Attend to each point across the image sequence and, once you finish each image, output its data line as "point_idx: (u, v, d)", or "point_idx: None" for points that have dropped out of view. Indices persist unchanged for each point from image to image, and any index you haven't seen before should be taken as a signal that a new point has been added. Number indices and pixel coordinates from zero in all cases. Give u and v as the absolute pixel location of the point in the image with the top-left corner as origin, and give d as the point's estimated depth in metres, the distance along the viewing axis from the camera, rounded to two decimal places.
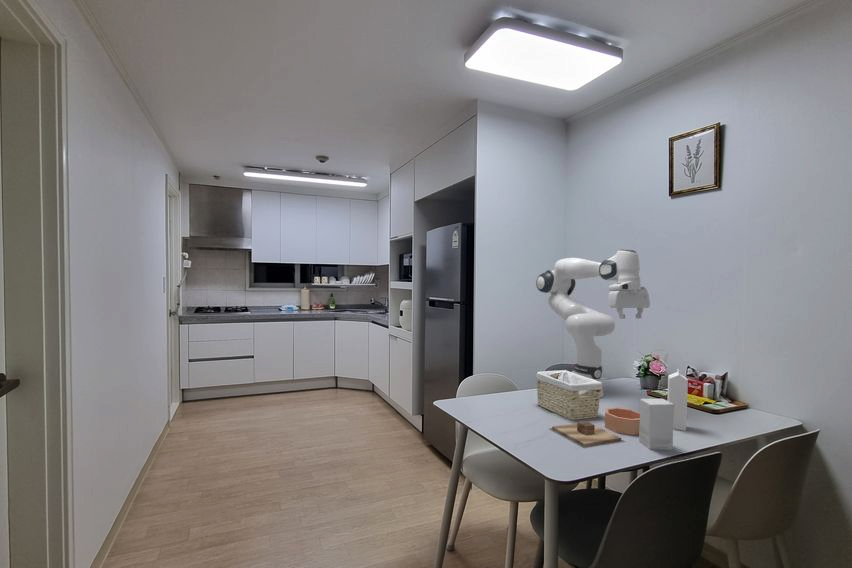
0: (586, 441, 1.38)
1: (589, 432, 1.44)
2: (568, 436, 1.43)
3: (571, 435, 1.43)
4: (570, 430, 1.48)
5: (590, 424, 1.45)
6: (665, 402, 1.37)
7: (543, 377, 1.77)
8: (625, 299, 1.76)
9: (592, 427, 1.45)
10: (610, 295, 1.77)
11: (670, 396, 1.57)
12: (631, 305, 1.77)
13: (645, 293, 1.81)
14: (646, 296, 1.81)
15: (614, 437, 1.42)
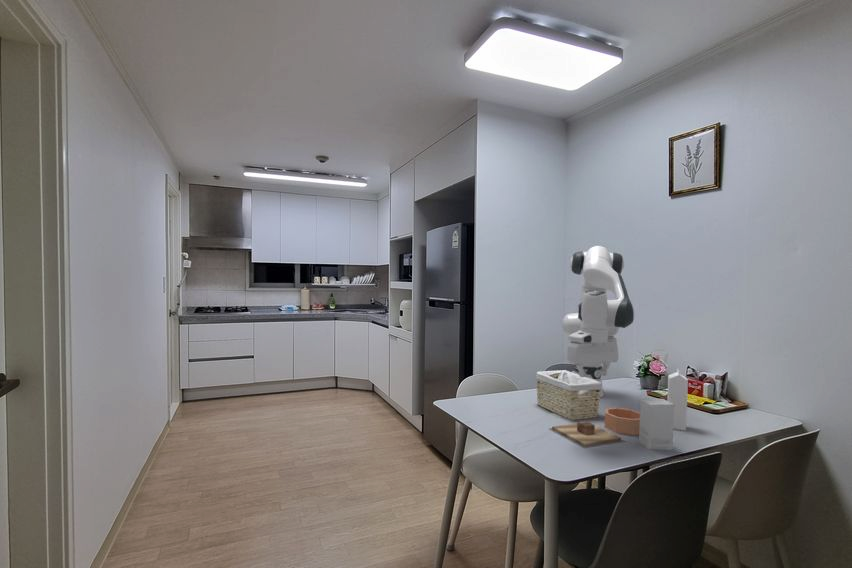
0: (586, 441, 1.38)
1: (589, 432, 1.44)
2: (568, 436, 1.43)
3: (571, 435, 1.43)
4: (570, 430, 1.48)
5: (590, 424, 1.45)
6: (665, 402, 1.37)
7: (543, 377, 1.77)
8: (587, 354, 1.43)
9: (592, 427, 1.45)
10: (569, 348, 1.43)
11: (670, 396, 1.57)
12: (595, 361, 1.44)
13: (614, 345, 1.47)
14: (615, 349, 1.47)
15: (614, 437, 1.42)
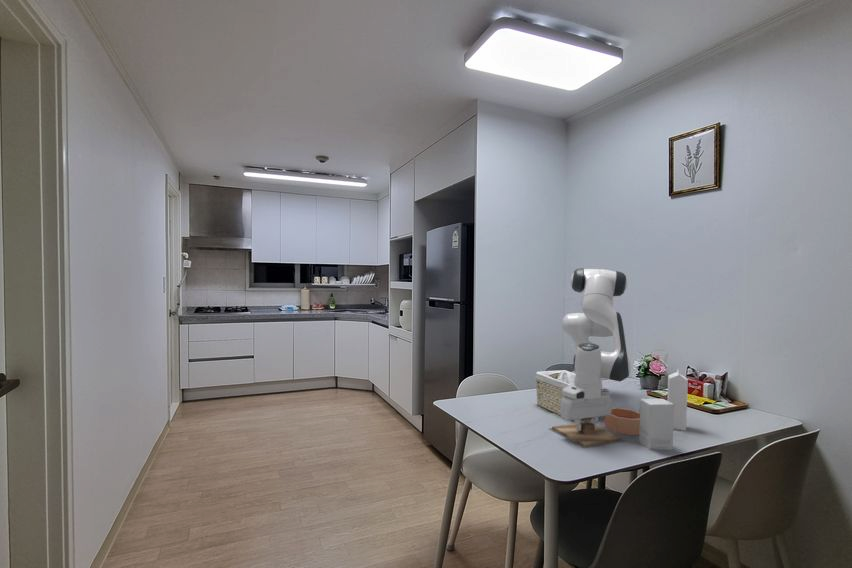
0: (586, 441, 1.38)
1: (589, 432, 1.44)
2: (568, 436, 1.43)
3: (571, 435, 1.43)
4: (570, 430, 1.48)
5: (590, 424, 1.45)
6: (665, 402, 1.37)
7: (542, 377, 1.77)
8: (580, 409, 1.43)
9: (592, 427, 1.45)
10: (562, 402, 1.44)
11: (670, 396, 1.57)
12: (587, 416, 1.44)
13: (607, 398, 1.47)
14: (608, 402, 1.47)
15: (614, 437, 1.42)
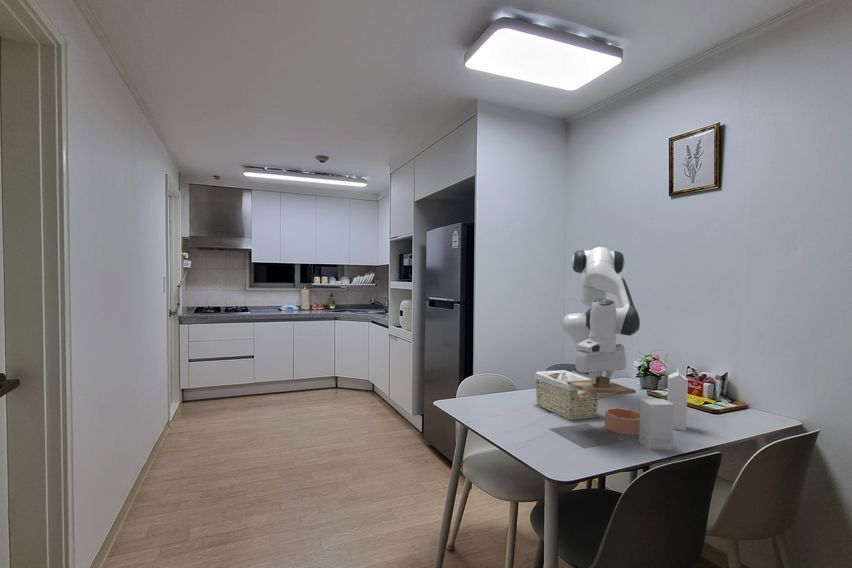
0: (601, 392, 1.41)
1: (604, 385, 1.48)
2: (583, 389, 1.46)
3: (586, 388, 1.46)
4: (585, 384, 1.51)
5: (605, 378, 1.49)
6: (665, 402, 1.37)
7: (542, 377, 1.77)
8: (595, 362, 1.46)
9: (607, 380, 1.48)
10: (577, 356, 1.47)
11: (670, 396, 1.57)
12: (602, 369, 1.47)
13: (622, 353, 1.50)
14: (622, 357, 1.50)
15: (629, 390, 1.45)
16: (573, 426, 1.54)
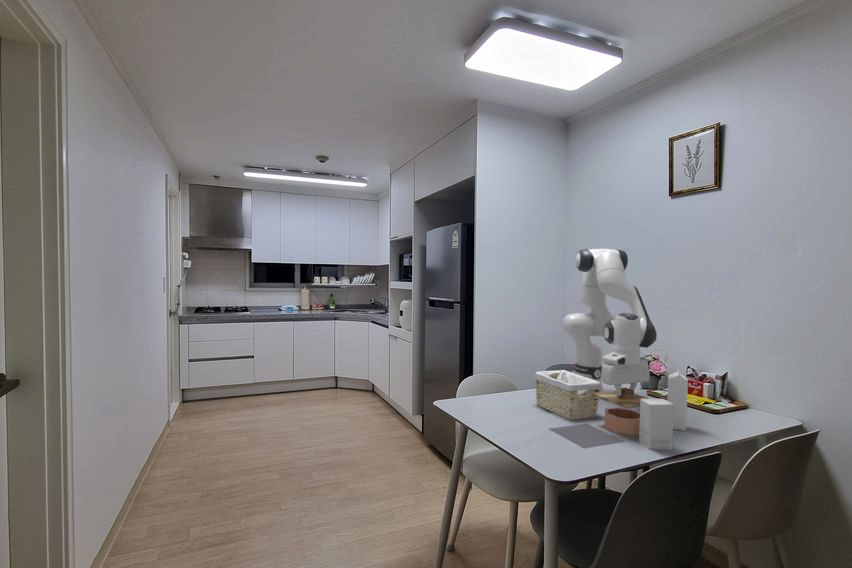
0: (628, 404, 1.45)
1: (629, 397, 1.52)
2: (609, 400, 1.51)
3: (612, 399, 1.50)
4: (610, 395, 1.56)
5: (630, 390, 1.53)
6: (665, 402, 1.37)
7: (542, 377, 1.77)
8: (621, 375, 1.51)
9: (632, 392, 1.53)
10: (603, 369, 1.51)
11: (670, 396, 1.57)
12: (627, 381, 1.52)
13: (645, 365, 1.55)
14: (646, 369, 1.55)
15: None
16: (573, 426, 1.54)
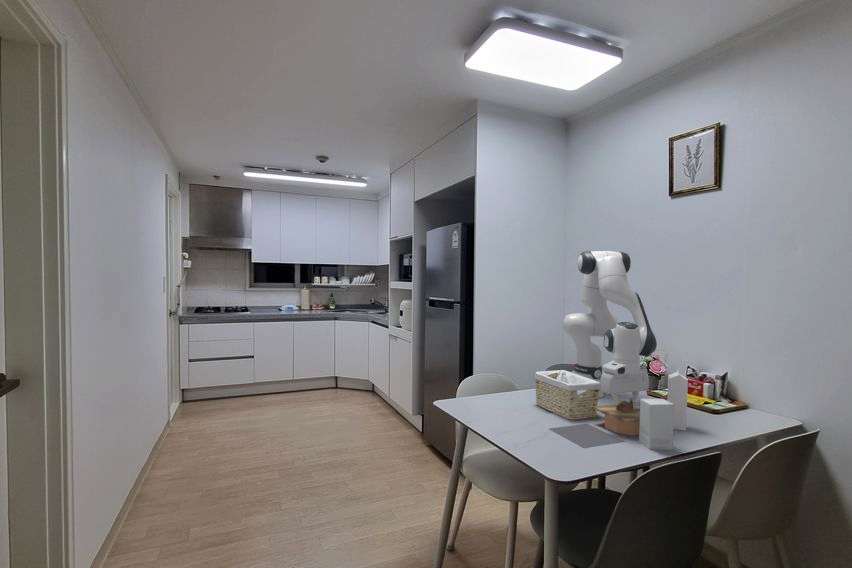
0: (627, 418, 1.46)
1: (628, 411, 1.52)
2: (609, 414, 1.51)
3: (612, 413, 1.51)
4: (610, 409, 1.56)
5: (629, 403, 1.53)
6: (665, 402, 1.37)
7: (542, 377, 1.77)
8: (620, 384, 1.51)
9: (631, 406, 1.53)
10: (603, 378, 1.51)
11: (670, 396, 1.57)
12: (627, 390, 1.52)
13: (645, 374, 1.55)
14: (646, 378, 1.55)
15: None
16: (573, 426, 1.54)
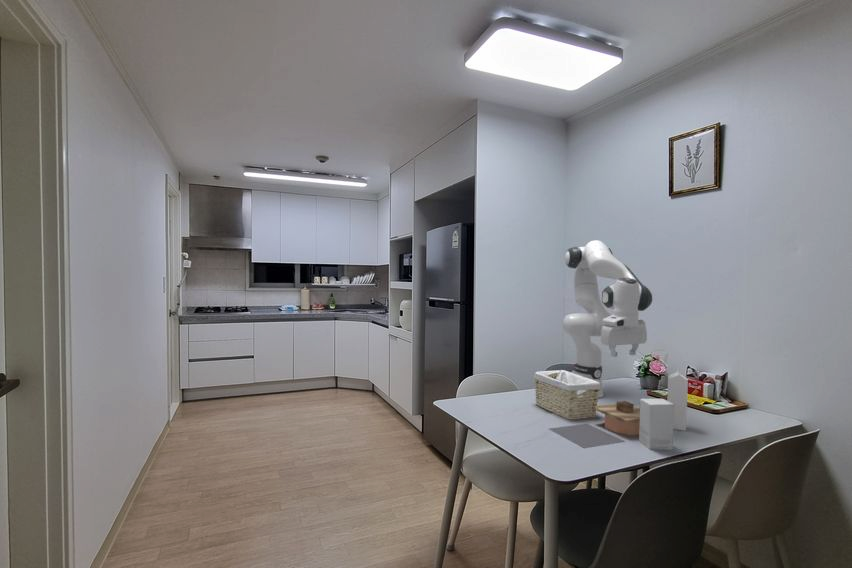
0: (627, 418, 1.46)
1: (628, 411, 1.52)
2: (609, 414, 1.51)
3: (612, 413, 1.51)
4: (610, 409, 1.56)
5: (629, 403, 1.53)
6: (665, 402, 1.37)
7: (541, 377, 1.77)
8: (619, 336, 1.58)
9: (631, 406, 1.53)
10: (603, 330, 1.59)
11: (670, 396, 1.57)
12: (625, 342, 1.59)
13: (643, 328, 1.62)
14: (644, 331, 1.62)
15: None
16: (573, 426, 1.54)
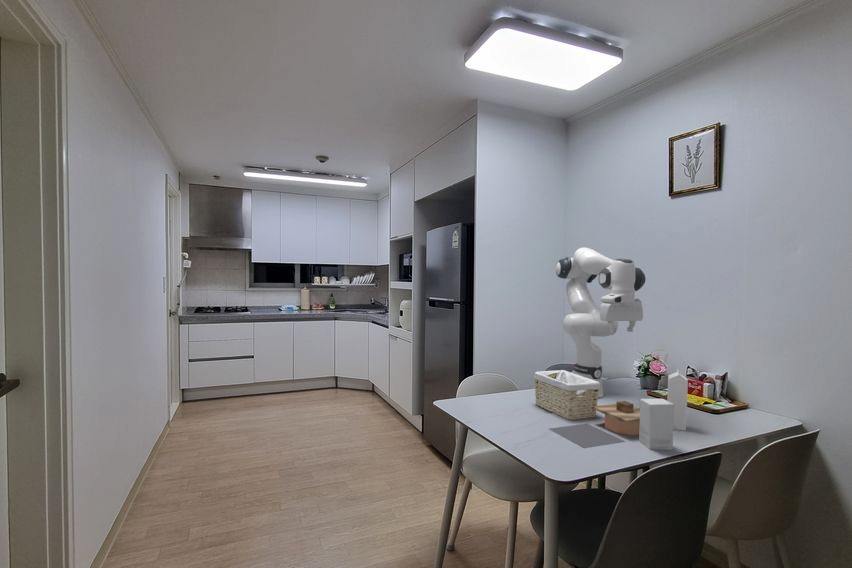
0: (627, 418, 1.46)
1: (628, 411, 1.52)
2: (609, 414, 1.51)
3: (612, 413, 1.51)
4: (610, 409, 1.56)
5: (629, 403, 1.53)
6: (665, 402, 1.37)
7: (541, 377, 1.77)
8: (617, 313, 1.68)
9: (631, 406, 1.53)
10: (602, 307, 1.68)
11: (670, 396, 1.57)
12: (623, 319, 1.69)
13: (639, 306, 1.72)
14: (640, 309, 1.72)
15: None
16: (573, 426, 1.54)
